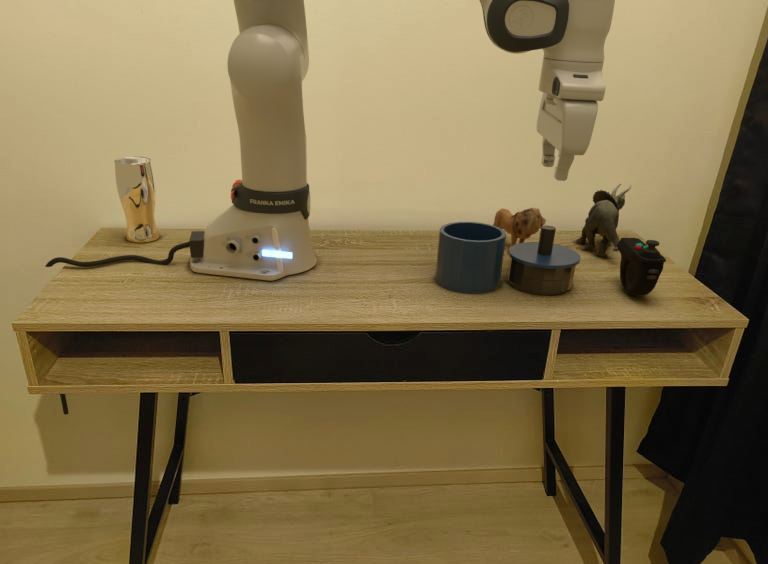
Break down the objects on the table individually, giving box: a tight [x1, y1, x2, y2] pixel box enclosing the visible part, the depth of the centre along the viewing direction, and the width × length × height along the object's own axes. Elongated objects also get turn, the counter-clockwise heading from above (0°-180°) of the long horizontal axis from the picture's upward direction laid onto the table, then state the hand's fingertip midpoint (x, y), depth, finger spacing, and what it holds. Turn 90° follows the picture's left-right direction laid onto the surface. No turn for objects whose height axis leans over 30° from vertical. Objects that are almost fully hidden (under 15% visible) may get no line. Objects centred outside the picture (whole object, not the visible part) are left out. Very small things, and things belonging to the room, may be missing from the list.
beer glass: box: [113, 156, 160, 244], centre depth 130 cm, size 7×7×15 cm
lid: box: [507, 224, 582, 269], centre depth 115 cm, size 12×12×6 cm
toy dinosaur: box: [575, 183, 632, 259], centre depth 133 cm, size 22×8×11 cm, turn 160°
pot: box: [435, 221, 507, 294], centre depth 116 cm, size 11×11×9 cm
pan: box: [506, 256, 577, 296], centre depth 117 cm, size 11×11×5 cm
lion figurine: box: [492, 207, 547, 247], centre depth 134 cm, size 15×5×9 cm, turn 34°
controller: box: [617, 237, 667, 297], centre depth 114 cm, size 4×12×10 cm, turn 2°
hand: (553, 172), depth 110 cm, fingers open, 8 cm apart
